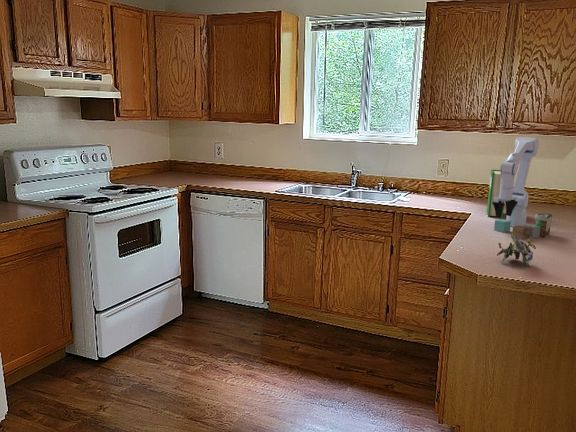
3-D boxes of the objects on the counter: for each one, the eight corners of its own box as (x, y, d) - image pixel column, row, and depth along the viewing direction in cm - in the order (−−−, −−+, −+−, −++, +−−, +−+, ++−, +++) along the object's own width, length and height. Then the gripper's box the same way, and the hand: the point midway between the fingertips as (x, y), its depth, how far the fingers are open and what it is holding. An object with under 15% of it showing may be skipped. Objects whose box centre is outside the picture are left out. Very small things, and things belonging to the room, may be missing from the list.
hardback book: (502, 218, 275) (507, 173, 270) (487, 216, 277) (492, 172, 272) (500, 212, 291) (505, 170, 286) (486, 211, 293) (491, 169, 289)
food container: (535, 231, 243) (538, 211, 241) (549, 234, 240) (552, 212, 238) (529, 236, 234) (532, 214, 232) (544, 238, 230) (547, 216, 228)
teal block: (500, 229, 247) (501, 219, 246) (509, 231, 243) (511, 221, 242) (494, 230, 245) (495, 220, 244) (503, 232, 241) (504, 222, 240)
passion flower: (525, 281, 188) (537, 259, 178) (490, 271, 191) (501, 249, 181) (528, 256, 196) (540, 233, 186) (495, 247, 199) (505, 224, 189)
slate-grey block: (529, 235, 237) (531, 224, 236) (539, 237, 232) (540, 226, 231) (522, 236, 234) (523, 225, 233) (532, 238, 230) (533, 227, 229)
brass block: (518, 236, 234) (519, 225, 233) (528, 238, 230) (529, 227, 229) (511, 237, 231) (512, 226, 230) (521, 239, 227) (523, 228, 226)
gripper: (504, 189, 233) (501, 219, 235) (523, 188, 240) (520, 216, 243) (491, 187, 239) (488, 216, 241) (510, 186, 246) (507, 214, 249)
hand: (503, 216), depth 243 cm, fingers open, 7 cm apart
